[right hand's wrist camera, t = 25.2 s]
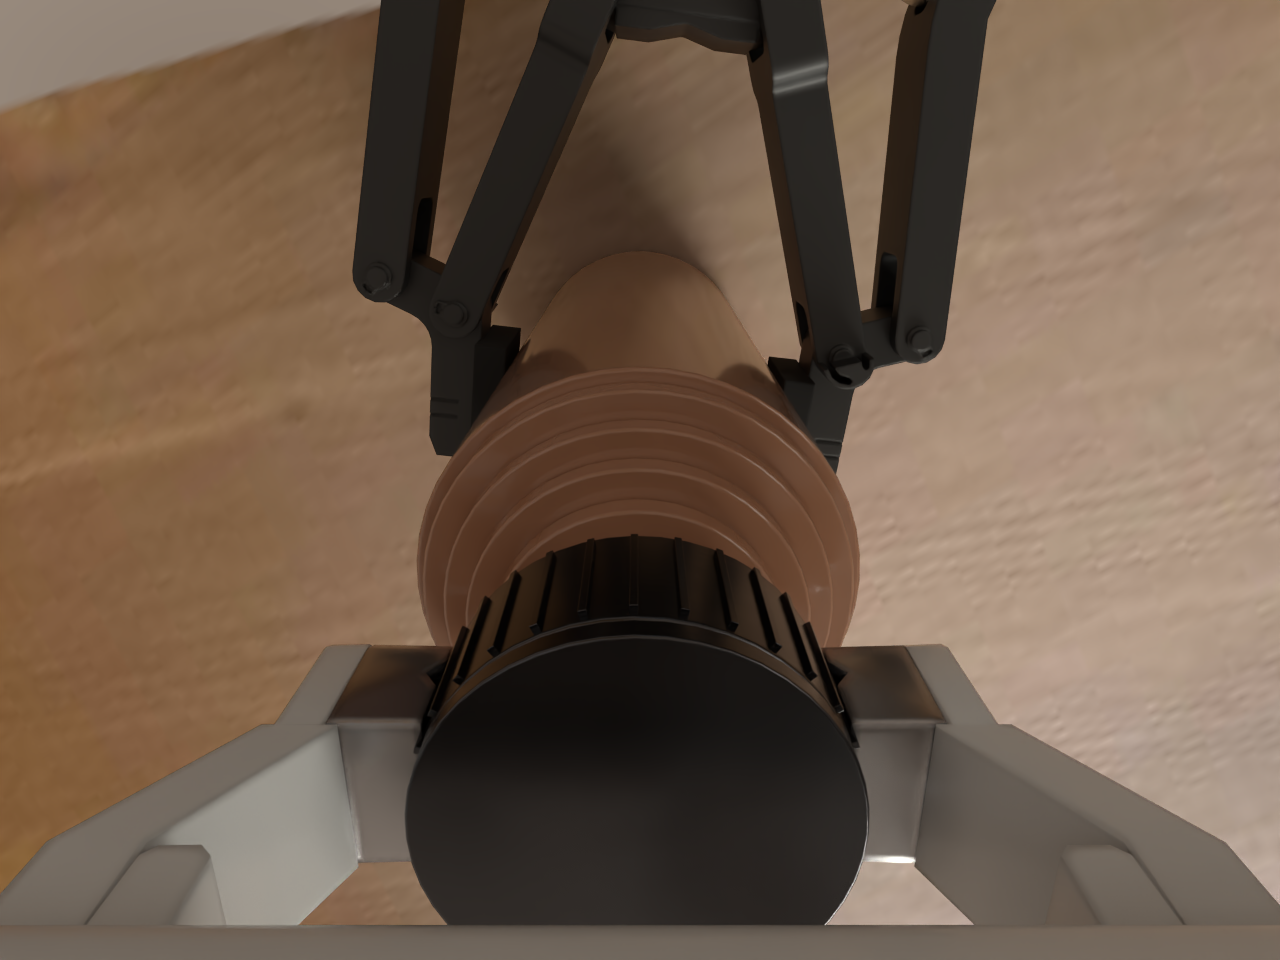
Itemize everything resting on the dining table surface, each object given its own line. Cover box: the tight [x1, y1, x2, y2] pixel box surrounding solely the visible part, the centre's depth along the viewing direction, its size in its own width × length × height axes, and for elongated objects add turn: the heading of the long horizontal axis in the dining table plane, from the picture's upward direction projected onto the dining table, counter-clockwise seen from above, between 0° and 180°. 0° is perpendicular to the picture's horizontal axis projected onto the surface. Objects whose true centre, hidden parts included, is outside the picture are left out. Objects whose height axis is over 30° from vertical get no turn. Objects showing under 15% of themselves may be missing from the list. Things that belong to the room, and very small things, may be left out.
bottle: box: [417, 251, 860, 648], centre depth 18 cm, size 7×7×21 cm
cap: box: [404, 534, 870, 925], centre depth 9 cm, size 5×5×2 cm
